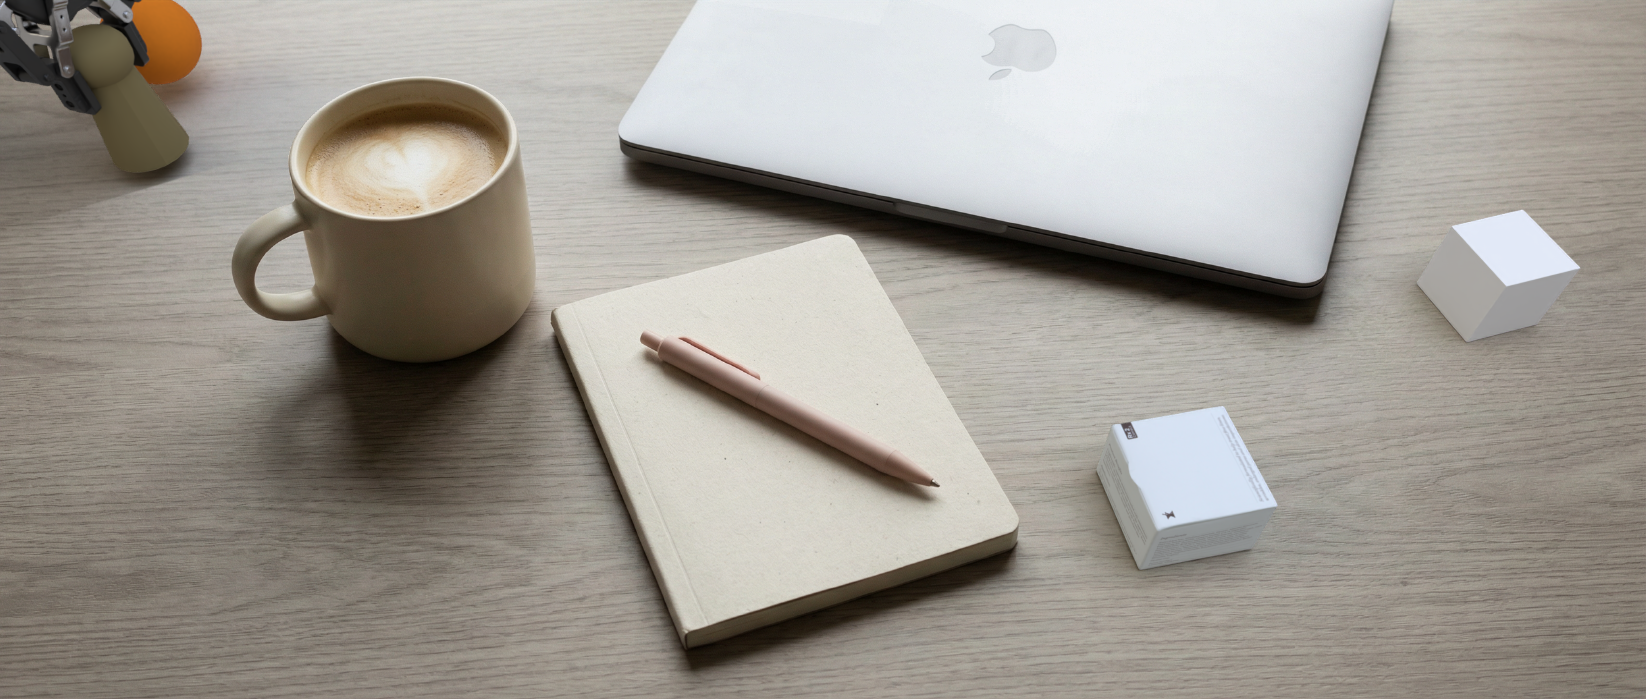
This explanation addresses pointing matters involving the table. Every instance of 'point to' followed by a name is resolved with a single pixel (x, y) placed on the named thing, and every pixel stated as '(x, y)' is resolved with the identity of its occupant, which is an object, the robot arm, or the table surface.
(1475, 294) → the white cube
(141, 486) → the table surface
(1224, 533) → the small box
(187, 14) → the orange
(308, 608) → the table surface
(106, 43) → the olive pawn
